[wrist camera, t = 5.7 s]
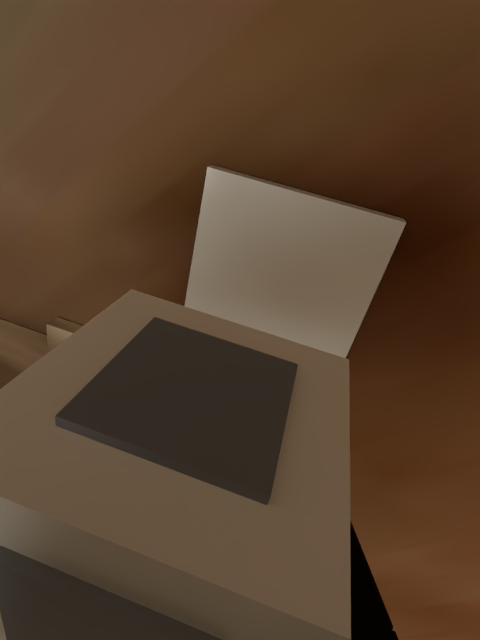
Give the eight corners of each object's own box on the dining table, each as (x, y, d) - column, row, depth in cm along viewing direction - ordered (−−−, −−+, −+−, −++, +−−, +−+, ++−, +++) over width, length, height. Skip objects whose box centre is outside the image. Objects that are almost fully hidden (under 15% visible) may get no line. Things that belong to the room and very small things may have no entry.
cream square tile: (334, 375, 21) (334, 383, 20) (185, 325, 22) (180, 331, 21) (403, 218, 17) (406, 222, 16) (213, 165, 18) (207, 166, 17)
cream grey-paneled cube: (284, 502, 11) (237, 786, 7) (119, 440, 12) (-37, 658, 7) (352, 352, 9) (358, 655, 4) (131, 281, 9) (-113, 460, 4)
